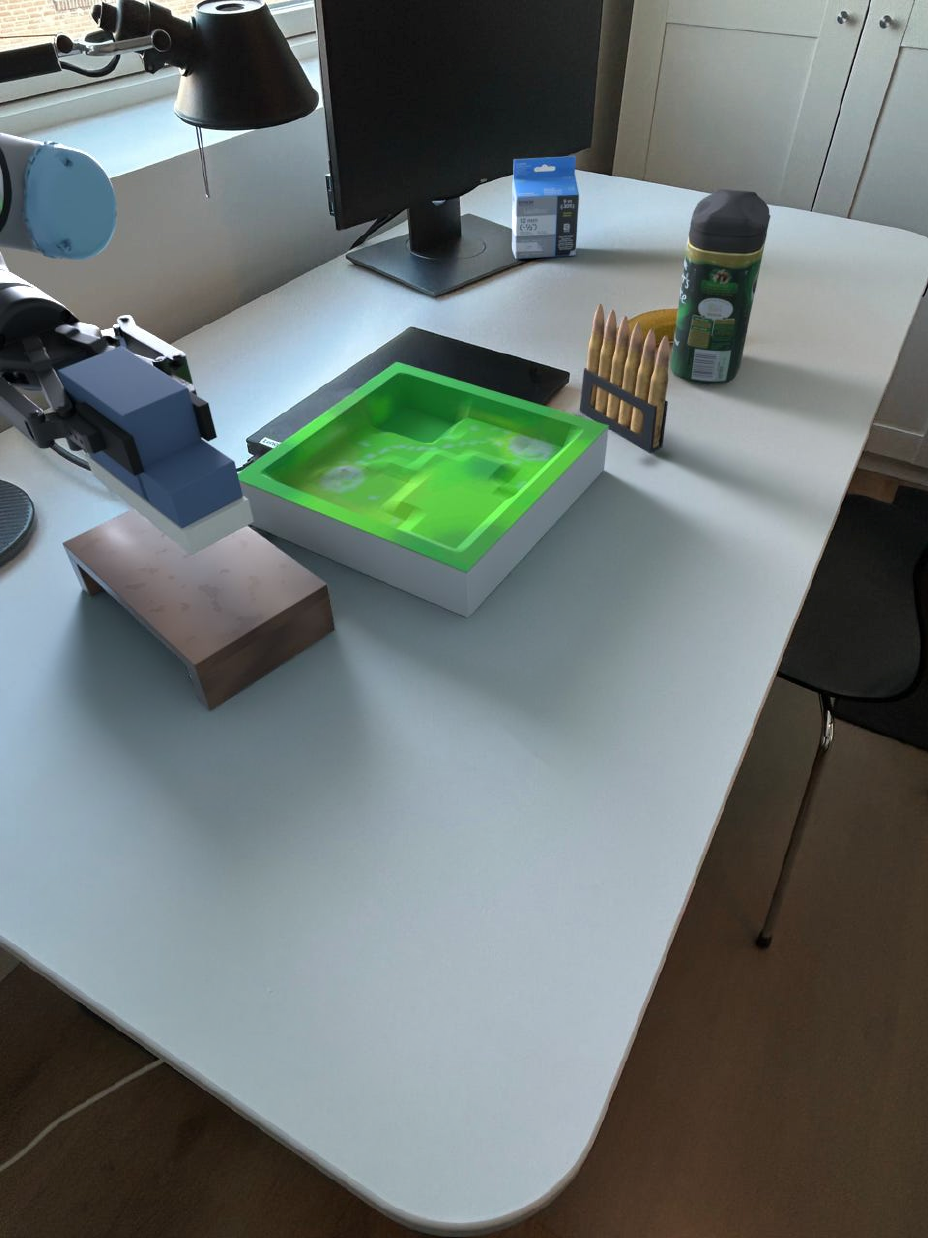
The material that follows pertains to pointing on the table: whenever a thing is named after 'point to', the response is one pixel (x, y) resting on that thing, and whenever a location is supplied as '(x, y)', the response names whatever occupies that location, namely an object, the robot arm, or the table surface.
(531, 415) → the tray
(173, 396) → the block
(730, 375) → the coffee jar
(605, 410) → the ammunition clip
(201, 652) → the shelf
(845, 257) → the table surface
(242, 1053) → the table surface
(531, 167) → the label tape box
